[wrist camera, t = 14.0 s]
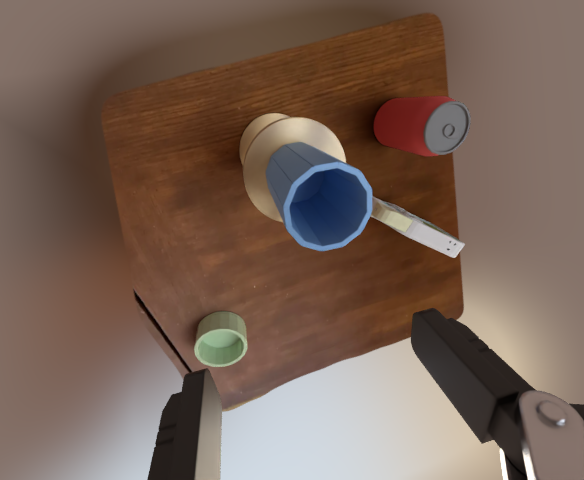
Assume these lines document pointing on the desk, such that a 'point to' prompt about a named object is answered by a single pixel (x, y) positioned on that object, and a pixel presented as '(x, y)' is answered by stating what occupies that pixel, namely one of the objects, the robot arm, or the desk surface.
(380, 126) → the beer can
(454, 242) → the handheld gaming console
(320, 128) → the stand
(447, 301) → the desk surface
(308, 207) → the blue cup
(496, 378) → the robot arm
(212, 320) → the green cup
